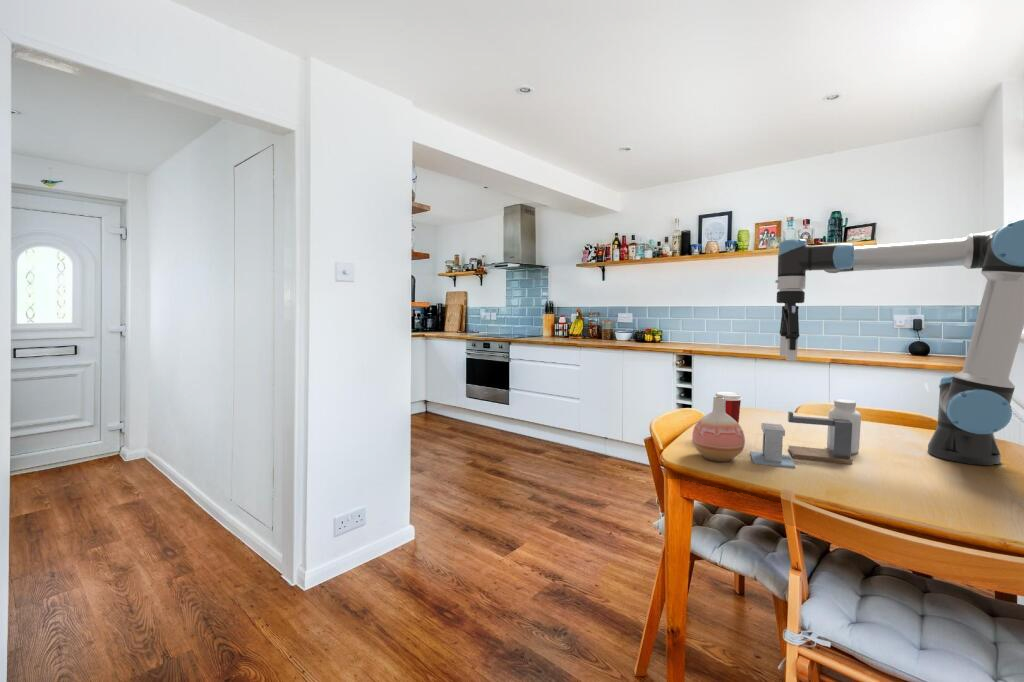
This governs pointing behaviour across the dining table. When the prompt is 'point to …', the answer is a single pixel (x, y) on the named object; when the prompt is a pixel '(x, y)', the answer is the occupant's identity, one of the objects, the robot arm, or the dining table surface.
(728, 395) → the coffee cup
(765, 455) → the light grey block
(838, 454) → the hook stand
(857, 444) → the pill bottle
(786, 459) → the mat
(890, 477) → the dining table surface
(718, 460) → the vase
